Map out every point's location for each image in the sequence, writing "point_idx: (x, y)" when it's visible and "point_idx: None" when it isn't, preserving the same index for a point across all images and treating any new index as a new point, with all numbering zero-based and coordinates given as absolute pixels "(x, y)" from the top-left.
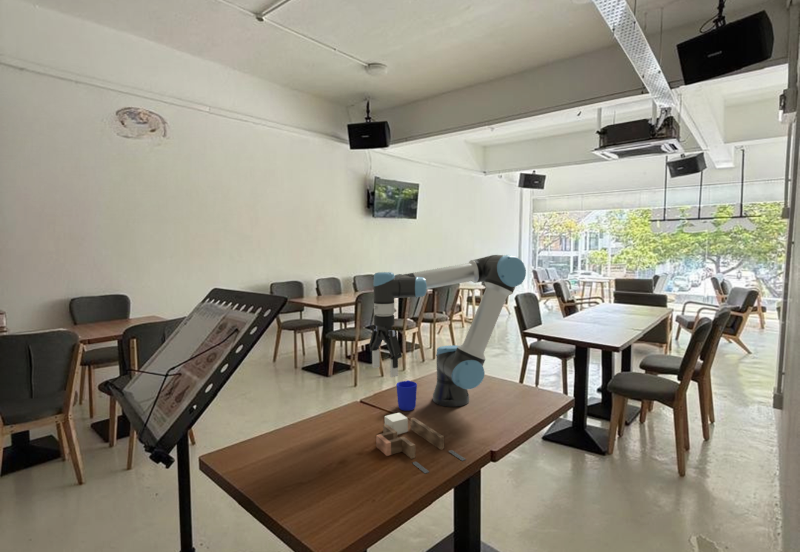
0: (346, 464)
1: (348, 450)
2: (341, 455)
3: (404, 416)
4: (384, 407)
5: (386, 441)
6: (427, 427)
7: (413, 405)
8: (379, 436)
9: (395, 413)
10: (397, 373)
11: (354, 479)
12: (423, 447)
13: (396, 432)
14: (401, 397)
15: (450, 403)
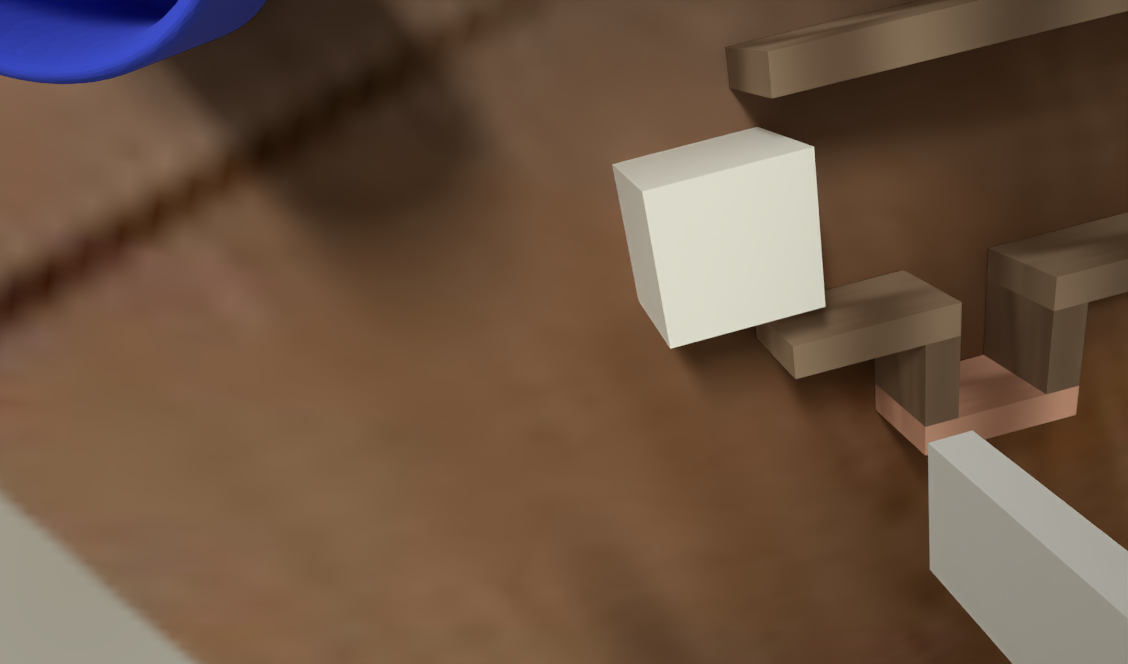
0: None
1: (828, 557)
2: (863, 592)
3: (763, 167)
4: (103, 181)
5: (1049, 409)
6: (1042, 7)
7: None
8: None
9: (650, 233)
10: (1016, 474)
11: None
12: (1057, 101)
13: (959, 307)
14: (221, 28)
15: None
